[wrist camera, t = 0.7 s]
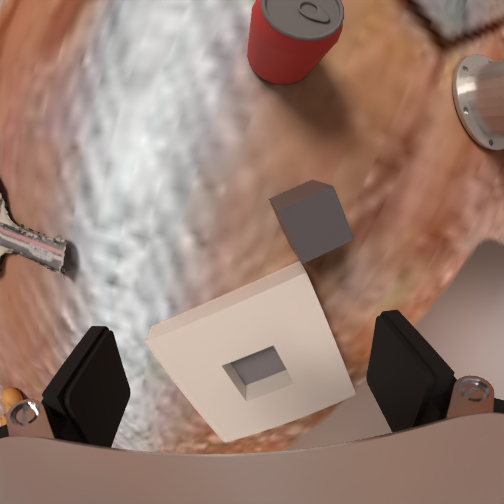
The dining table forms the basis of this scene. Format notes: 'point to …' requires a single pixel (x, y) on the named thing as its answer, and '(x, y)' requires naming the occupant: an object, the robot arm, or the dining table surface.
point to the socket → (254, 355)
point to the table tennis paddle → (30, 243)
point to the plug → (312, 219)
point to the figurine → (9, 401)
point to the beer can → (292, 36)
